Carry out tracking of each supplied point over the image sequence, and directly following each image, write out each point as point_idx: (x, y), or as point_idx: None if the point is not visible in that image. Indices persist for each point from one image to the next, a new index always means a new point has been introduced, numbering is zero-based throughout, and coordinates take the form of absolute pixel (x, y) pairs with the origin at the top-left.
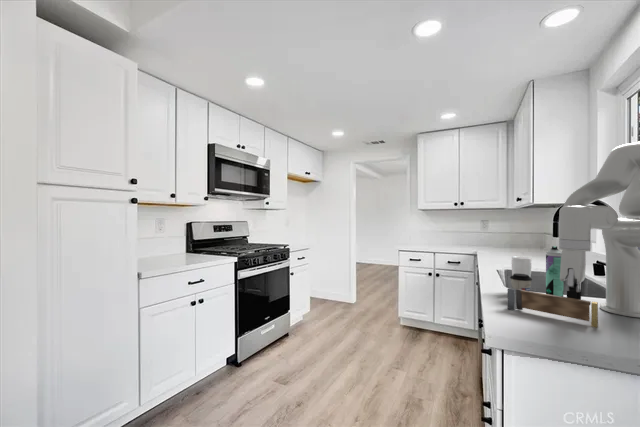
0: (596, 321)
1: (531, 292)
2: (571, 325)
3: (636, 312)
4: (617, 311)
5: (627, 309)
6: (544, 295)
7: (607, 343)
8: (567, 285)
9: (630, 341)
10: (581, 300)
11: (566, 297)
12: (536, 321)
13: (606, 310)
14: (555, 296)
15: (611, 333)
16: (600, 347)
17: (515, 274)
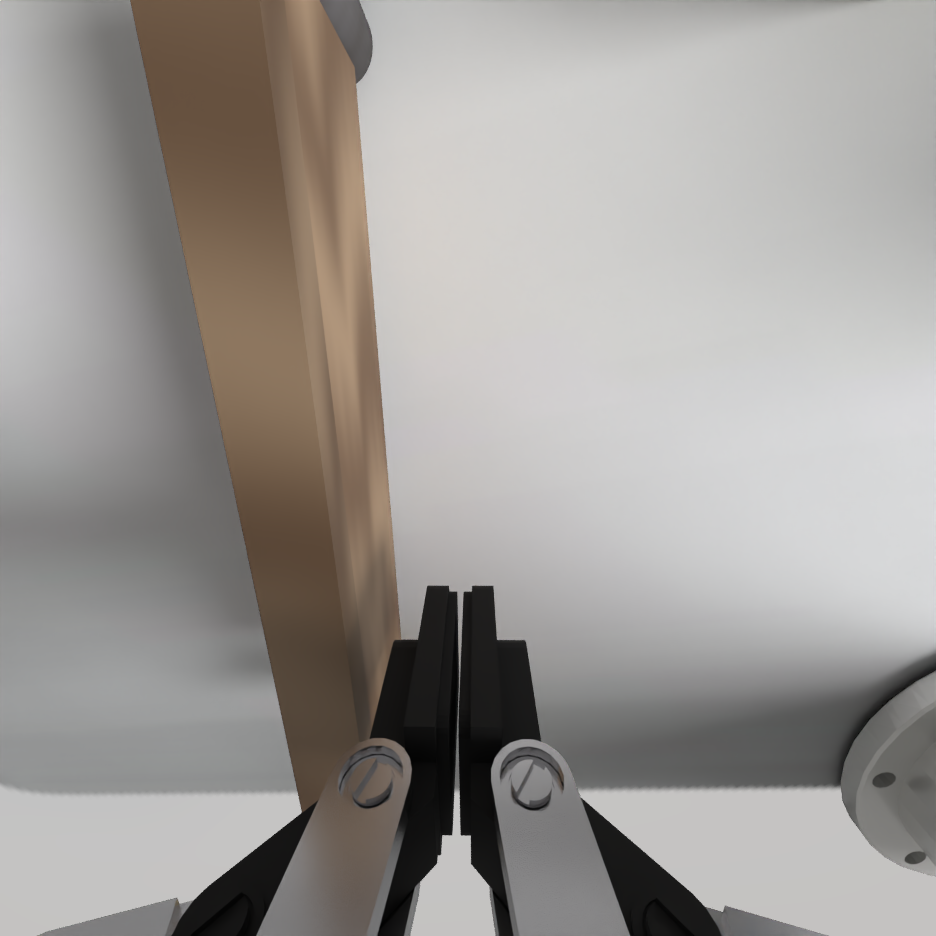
0: None
1: (167, 113)
2: None
3: (906, 829)
4: (878, 750)
5: (918, 813)
6: (218, 382)
7: (109, 719)
8: (280, 885)
9: (261, 782)
10: (321, 779)
11: (333, 652)
12: (116, 331)
13: (924, 683)
14: (251, 540)
15: None
16: (4, 703)
17: None
